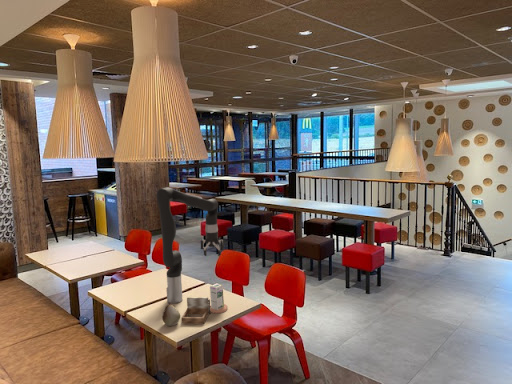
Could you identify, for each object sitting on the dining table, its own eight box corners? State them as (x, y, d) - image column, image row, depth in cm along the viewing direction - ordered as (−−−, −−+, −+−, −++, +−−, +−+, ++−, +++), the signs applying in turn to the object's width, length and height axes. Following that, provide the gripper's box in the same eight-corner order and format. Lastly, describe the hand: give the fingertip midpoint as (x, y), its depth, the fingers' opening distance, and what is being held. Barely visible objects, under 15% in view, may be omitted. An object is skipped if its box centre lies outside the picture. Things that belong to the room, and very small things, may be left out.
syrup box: (217, 310, 233) (216, 287, 231) (210, 308, 236) (209, 285, 235) (224, 307, 237) (223, 284, 235) (217, 304, 241) (216, 282, 239)
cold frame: (181, 323, 219) (180, 307, 218) (188, 312, 233) (187, 297, 232) (206, 323, 218) (205, 307, 217) (211, 313, 232) (210, 297, 230)
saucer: (206, 313, 231) (206, 311, 231) (210, 305, 243) (210, 303, 243) (225, 313, 230) (225, 311, 230) (229, 305, 242) (229, 303, 242)
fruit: (174, 318, 226) (172, 299, 224) (184, 322, 220) (183, 303, 218) (159, 325, 218) (158, 305, 217) (170, 329, 212) (168, 309, 211)
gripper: (199, 232, 236) (200, 257, 238) (221, 232, 234) (222, 257, 236) (201, 229, 243) (202, 253, 245) (224, 229, 241) (224, 254, 244)
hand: (212, 255), depth 241 cm, fingers open, 8 cm apart
